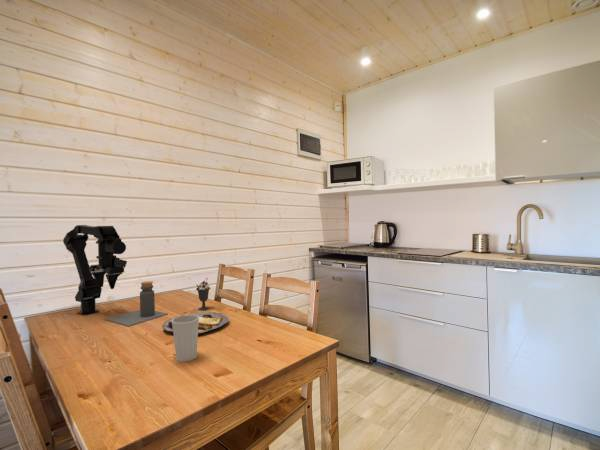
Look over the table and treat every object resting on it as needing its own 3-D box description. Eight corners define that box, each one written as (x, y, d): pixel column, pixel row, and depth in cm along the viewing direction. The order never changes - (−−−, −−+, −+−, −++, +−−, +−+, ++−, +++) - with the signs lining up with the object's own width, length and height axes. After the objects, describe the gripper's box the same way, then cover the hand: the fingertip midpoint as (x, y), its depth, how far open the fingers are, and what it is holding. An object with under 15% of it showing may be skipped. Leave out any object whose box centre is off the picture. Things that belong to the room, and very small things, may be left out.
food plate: (149, 333, 115) (149, 324, 115) (187, 315, 137) (188, 307, 137) (207, 341, 108) (207, 331, 108) (237, 320, 130) (237, 312, 130)
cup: (183, 365, 89) (182, 324, 89) (167, 359, 93) (166, 320, 93) (205, 354, 96) (204, 317, 95) (188, 349, 100) (188, 313, 100)
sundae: (213, 307, 148) (213, 277, 148) (204, 311, 142) (203, 279, 142) (203, 306, 151) (202, 276, 150) (193, 310, 144) (192, 278, 144)
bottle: (153, 312, 140) (153, 280, 140) (155, 315, 136) (155, 282, 135) (139, 314, 137) (138, 281, 137) (141, 318, 132) (140, 284, 132)
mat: (105, 319, 132) (105, 318, 132) (144, 309, 147) (144, 308, 147) (128, 326, 123) (128, 325, 123) (167, 314, 138) (167, 313, 138)
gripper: (135, 252, 138) (136, 286, 138) (113, 251, 148) (114, 282, 148) (109, 255, 129) (110, 291, 129) (87, 253, 138) (88, 287, 138)
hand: (106, 287), depth 136 cm, fingers open, 9 cm apart
